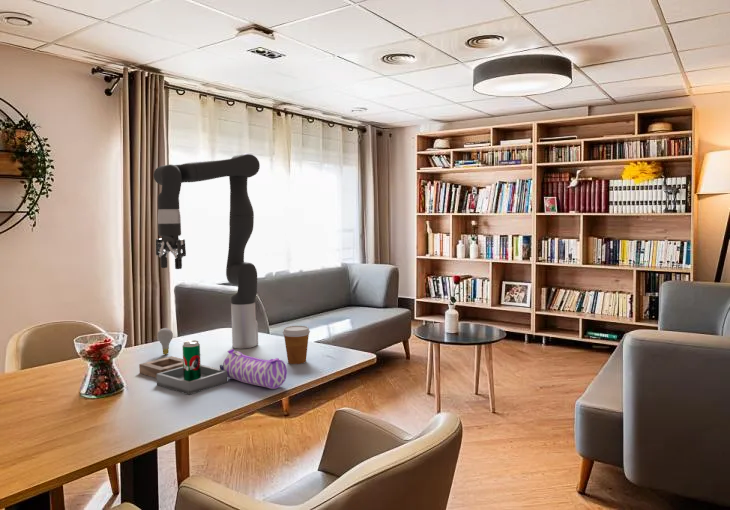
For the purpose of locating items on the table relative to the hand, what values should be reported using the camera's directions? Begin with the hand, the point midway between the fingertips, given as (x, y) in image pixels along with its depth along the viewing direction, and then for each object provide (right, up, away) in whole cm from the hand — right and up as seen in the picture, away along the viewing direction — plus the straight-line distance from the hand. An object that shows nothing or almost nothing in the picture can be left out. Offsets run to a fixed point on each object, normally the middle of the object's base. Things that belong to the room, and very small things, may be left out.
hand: (171, 268), depth 189 cm
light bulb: (-6, -33, +11) cm, 35 cm away
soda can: (+15, -34, -24) cm, 45 cm away
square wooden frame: (+3, -34, -11) cm, 36 cm away
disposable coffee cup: (+45, -33, -1) cm, 56 cm away
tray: (+15, -35, -24) cm, 45 cm away
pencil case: (+34, -35, -24) cm, 55 cm away
